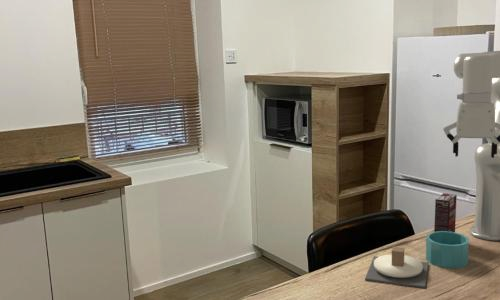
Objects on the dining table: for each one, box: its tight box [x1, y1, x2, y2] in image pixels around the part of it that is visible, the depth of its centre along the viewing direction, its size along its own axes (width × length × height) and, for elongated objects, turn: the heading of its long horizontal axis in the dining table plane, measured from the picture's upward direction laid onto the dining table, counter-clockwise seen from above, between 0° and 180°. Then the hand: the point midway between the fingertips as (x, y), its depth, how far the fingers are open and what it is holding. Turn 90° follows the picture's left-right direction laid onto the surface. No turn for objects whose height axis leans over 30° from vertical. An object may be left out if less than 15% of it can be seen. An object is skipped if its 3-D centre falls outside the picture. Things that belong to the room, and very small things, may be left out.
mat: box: [364, 256, 429, 289], centre depth 142 cm, size 16×16×1 cm
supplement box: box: [433, 192, 458, 233], centre depth 160 cm, size 9×5×16 cm, turn 143°
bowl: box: [425, 231, 470, 269], centre depth 148 cm, size 12×12×7 cm
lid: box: [374, 246, 423, 278], centre depth 141 cm, size 14×14×6 cm
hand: (474, 156), depth 143 cm, fingers open, 9 cm apart
